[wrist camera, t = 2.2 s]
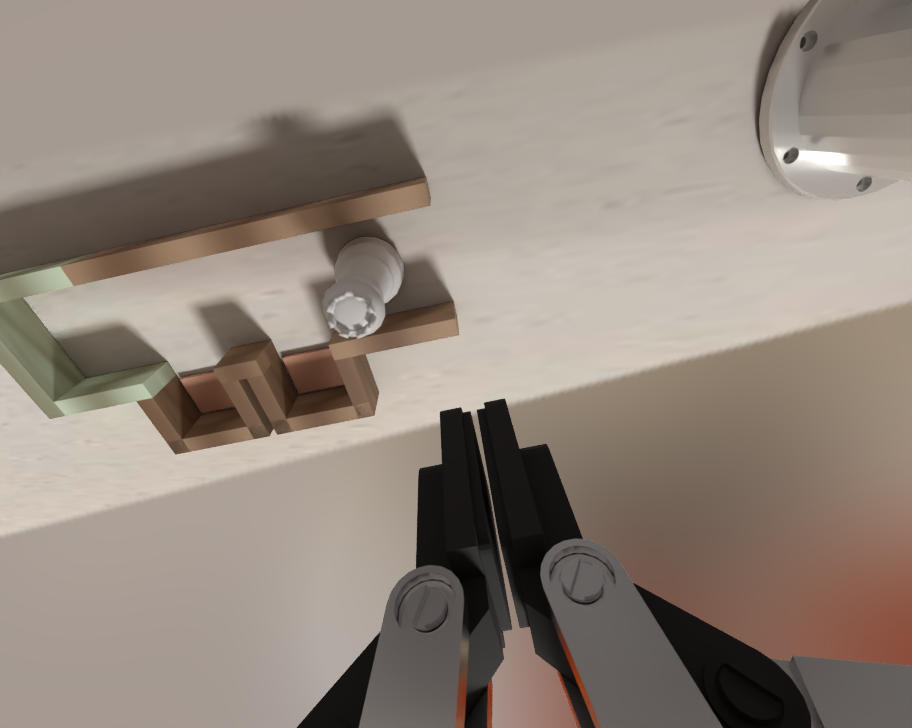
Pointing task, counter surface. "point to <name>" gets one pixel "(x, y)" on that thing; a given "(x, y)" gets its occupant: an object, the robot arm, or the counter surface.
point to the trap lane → (244, 367)
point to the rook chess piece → (362, 286)
